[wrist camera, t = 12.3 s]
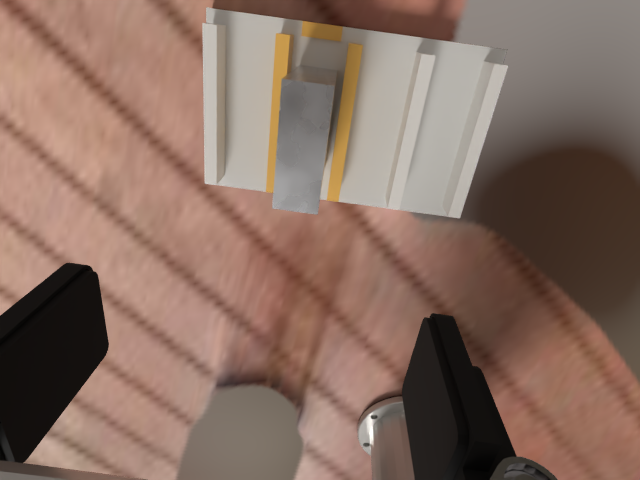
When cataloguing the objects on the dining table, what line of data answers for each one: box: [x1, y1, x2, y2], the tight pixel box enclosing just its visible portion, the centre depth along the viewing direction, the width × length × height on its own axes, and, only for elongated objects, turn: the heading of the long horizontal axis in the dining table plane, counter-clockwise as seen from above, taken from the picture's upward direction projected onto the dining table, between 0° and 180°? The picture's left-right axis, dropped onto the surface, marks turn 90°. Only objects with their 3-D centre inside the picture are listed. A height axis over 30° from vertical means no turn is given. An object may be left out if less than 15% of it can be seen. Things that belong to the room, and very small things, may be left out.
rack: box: [203, 7, 508, 218], centre depth 33 cm, size 14×23×4 cm, turn 83°
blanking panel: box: [272, 65, 338, 215], centre depth 29 cm, size 8×3×10 cm, turn 173°
